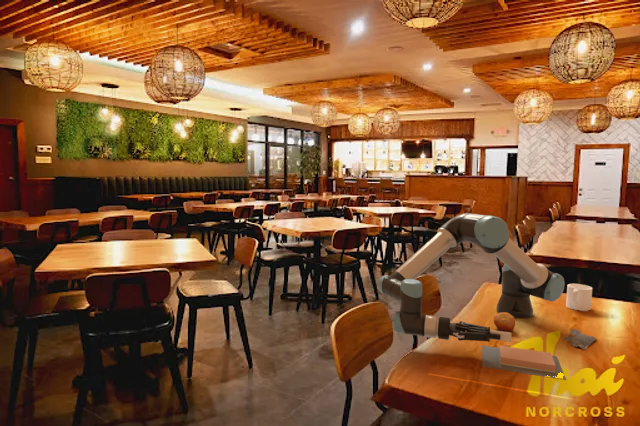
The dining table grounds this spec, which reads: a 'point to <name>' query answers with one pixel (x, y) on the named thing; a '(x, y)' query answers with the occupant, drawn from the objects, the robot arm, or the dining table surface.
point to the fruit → (504, 322)
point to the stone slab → (579, 339)
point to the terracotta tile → (526, 359)
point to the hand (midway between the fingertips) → (510, 337)
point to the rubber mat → (493, 361)
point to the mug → (579, 297)
